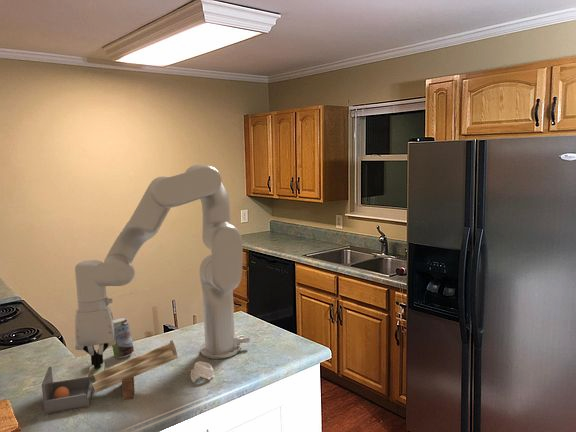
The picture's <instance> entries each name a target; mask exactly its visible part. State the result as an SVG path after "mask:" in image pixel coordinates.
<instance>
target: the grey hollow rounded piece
mask: <svg viewBox="0 0 576 432" xmlns="http://www.w3.org/2000/svg"><path fill="white" fill-rule="evenodd" d="M214 376H215V373H214V368H213V366H212V364H210V363H209V362H207V361H206V362H205V361H196V362H195V363H194V366H193V368H192V369H191V371H190V380H191V382H192V383H196V381H197V379H200V378H204V379H206V380H209V381H210V380H211V379H213V378H214Z"/></svg>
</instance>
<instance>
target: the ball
mask: <svg viewBox="0 0 576 432" xmlns="http://www.w3.org/2000/svg"><path fill="white" fill-rule="evenodd" d="M68 396H69V390H68V388H66V387H59V388H57V389H56V390H55V392H54V398H55V399H57V398H63V397H68Z"/></svg>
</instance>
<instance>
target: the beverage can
mask: <svg viewBox="0 0 576 432" xmlns="http://www.w3.org/2000/svg"><path fill="white" fill-rule="evenodd" d="M113 322H114V331H115V335H114V337H115V340H116V344H115V345H112V346H111V347H112V348H111V349H112V351H113V356H114V357H115V358H117V359H122V358H126V357H129V356H131V355H132V354H133V352H134V351H135V350H134V349H135V348H134V345H133V339H132V338H133V337H132V333H131V329H130V324H129V321H128V320H127V318H126V317H120V318H115V319H113Z"/></svg>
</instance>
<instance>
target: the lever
mask: <svg viewBox="0 0 576 432" xmlns="http://www.w3.org/2000/svg"><path fill="white" fill-rule="evenodd" d="M178 358H179V356H178V352H177V348H176V345H175V343H174V340H173V339H172V340H169V343H166V344H164V345H161V346H159V347H156V348H154V349H152V350H149V351H146V352H145V353H142V354H140V355H137V356H135V357H132V358H130V359H128V360H126V361H123V362H121V363H118V364H116V365H113V366H111V367H109V368H106V369H105V367H106V363H105V361H104V360H103V364H101V367H100V368H98V367H97V368H96V369H94V365H91V366H89V370H88V374H87V375H88V376H87V377H89V379H90V381H93V380H95V382H92V386H93V390H94V392H95V394H97V393H99V392H102V391H104V390H106V389H108V388H110V387H113V386H116V385H117V384H121V383H122V379H125V378H131V377H134V378H135V377H137V376H139V375H141V374H143V373H146V372H148V371H151V370H153V369H155V368H158V367H160V366H163V365H165V364H168V363H170V362H172V361H174V360H176V359H178Z"/></svg>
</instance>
